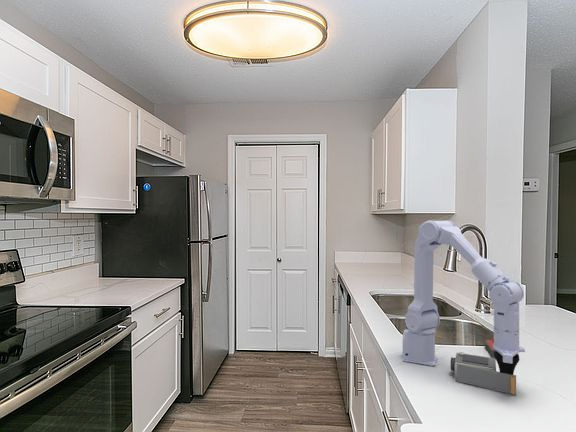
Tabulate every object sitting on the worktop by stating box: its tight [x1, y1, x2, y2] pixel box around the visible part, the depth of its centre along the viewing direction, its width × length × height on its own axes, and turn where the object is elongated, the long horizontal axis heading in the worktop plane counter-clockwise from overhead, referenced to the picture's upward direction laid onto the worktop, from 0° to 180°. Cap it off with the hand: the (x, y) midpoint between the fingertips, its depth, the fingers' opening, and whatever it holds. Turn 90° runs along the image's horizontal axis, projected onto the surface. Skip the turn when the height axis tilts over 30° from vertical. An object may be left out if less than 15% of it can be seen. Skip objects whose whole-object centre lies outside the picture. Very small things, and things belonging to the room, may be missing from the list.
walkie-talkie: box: [484, 336, 496, 358], centre depth 130 cm, size 9×4×20 cm
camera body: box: [450, 351, 497, 372], centre depth 108 cm, size 11×8×6 cm
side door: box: [454, 363, 517, 395], centre depth 101 cm, size 14×1×5 cm, turn 54°
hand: (506, 382), depth 100 cm, fingers closed
